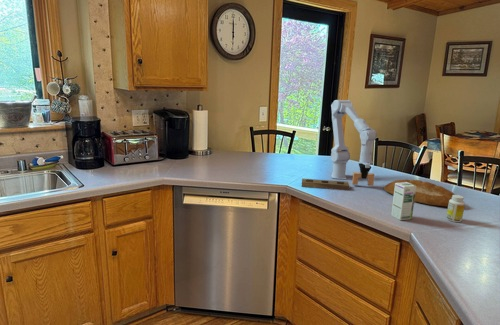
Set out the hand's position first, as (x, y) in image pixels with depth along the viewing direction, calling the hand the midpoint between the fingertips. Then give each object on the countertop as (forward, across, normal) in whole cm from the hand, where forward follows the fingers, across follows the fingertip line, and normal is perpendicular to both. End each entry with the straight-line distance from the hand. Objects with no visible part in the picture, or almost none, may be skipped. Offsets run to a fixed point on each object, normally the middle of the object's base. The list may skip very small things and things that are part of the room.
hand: (363, 177), depth 177 cm
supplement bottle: (+5, -38, -30) cm, 49 cm away
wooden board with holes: (+5, -5, +20) cm, 21 cm away
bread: (+5, -13, -25) cm, 29 cm away
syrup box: (+5, -40, -9) cm, 41 cm away
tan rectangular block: (+4, 0, 0) cm, 4 cm away
